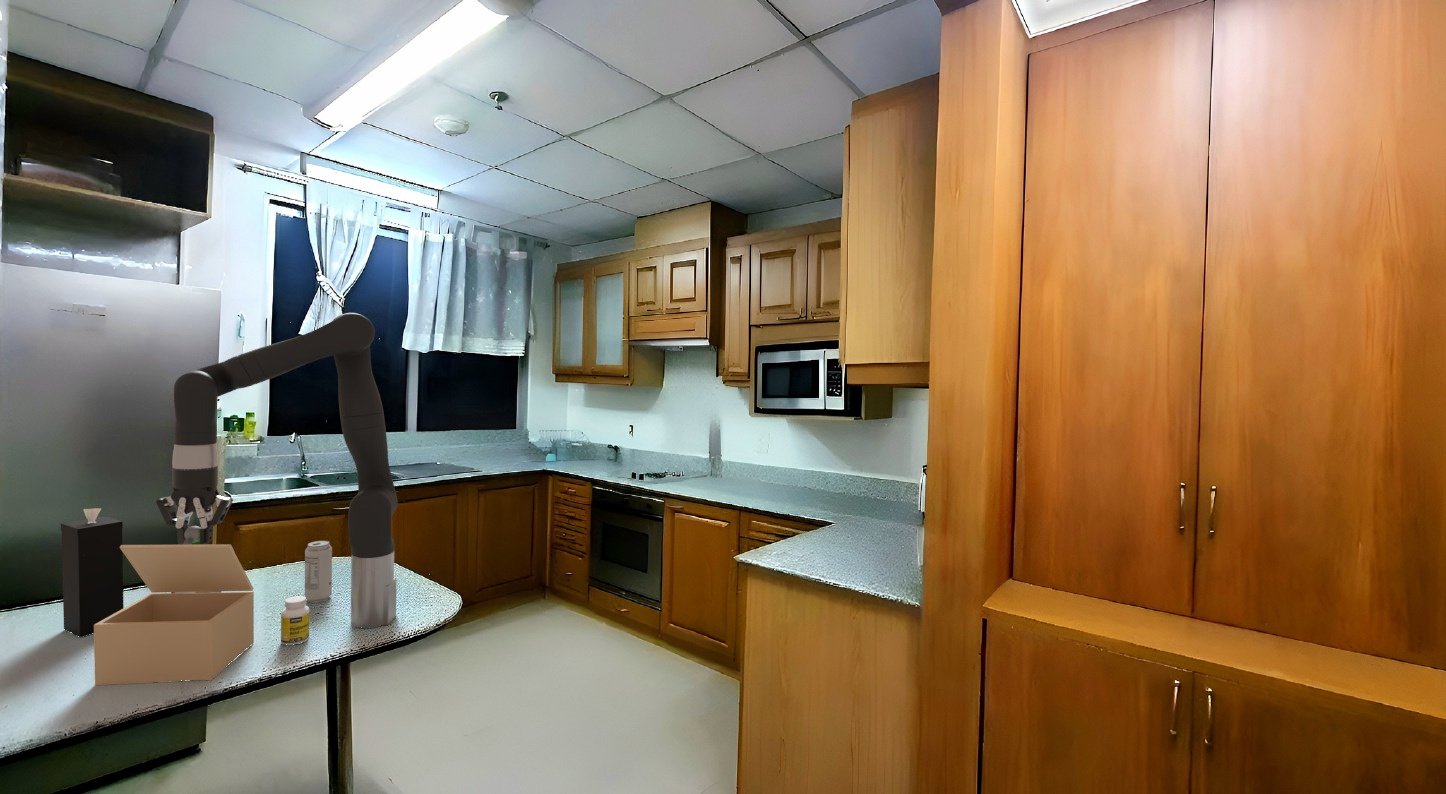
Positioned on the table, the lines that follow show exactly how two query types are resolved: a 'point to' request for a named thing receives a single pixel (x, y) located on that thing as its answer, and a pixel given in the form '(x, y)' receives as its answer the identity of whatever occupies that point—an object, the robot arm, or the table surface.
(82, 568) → the tall black box
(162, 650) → the carton
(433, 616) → the table surface
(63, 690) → the table surface
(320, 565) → the energy drink can
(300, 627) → the supplement bottle
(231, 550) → the flap
